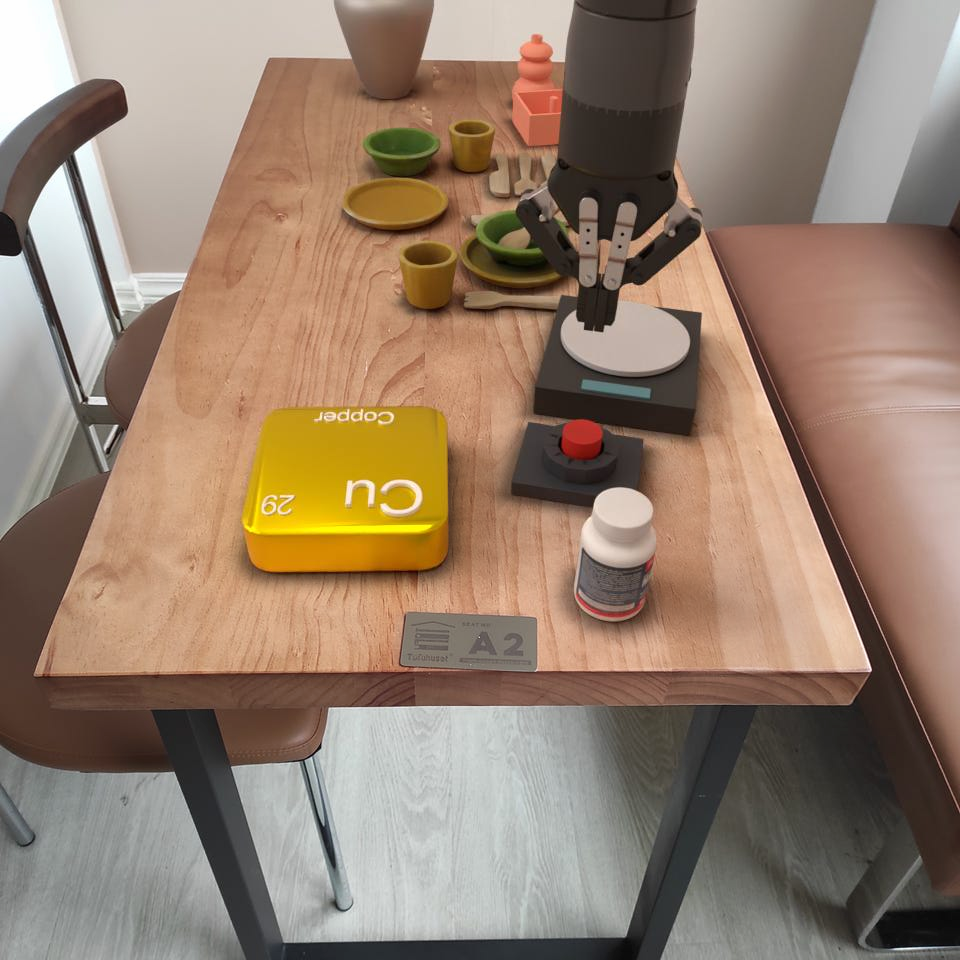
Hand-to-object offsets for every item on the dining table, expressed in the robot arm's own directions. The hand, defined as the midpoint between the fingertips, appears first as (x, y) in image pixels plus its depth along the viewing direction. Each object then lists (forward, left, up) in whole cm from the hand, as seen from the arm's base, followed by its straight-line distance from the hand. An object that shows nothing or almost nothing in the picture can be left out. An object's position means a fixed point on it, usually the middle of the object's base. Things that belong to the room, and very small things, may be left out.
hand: (595, 325), depth 68 cm
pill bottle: (-4, +13, -15) cm, 20 cm away
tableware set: (+20, -41, -15) cm, 48 cm away
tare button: (0, 0, -12) cm, 12 cm away
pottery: (+15, -76, -15) cm, 79 cm away
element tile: (+17, +8, -15) cm, 24 cm away
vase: (+40, -81, -15) cm, 92 cm away
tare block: (0, 0, -14) cm, 14 cm away
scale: (-2, -15, -14) cm, 21 cm away
